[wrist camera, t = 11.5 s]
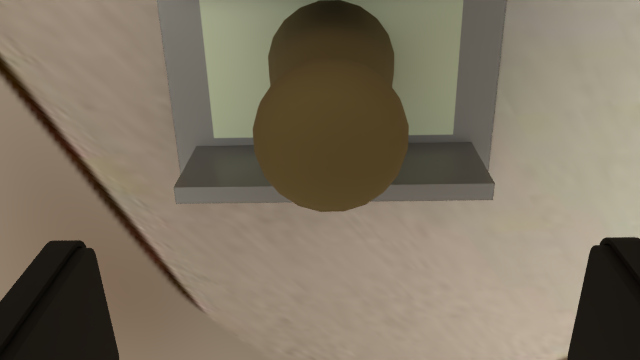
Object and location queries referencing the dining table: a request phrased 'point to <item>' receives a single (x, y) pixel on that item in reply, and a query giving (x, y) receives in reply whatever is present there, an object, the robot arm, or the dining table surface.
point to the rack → (408, 82)
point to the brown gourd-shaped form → (331, 109)
